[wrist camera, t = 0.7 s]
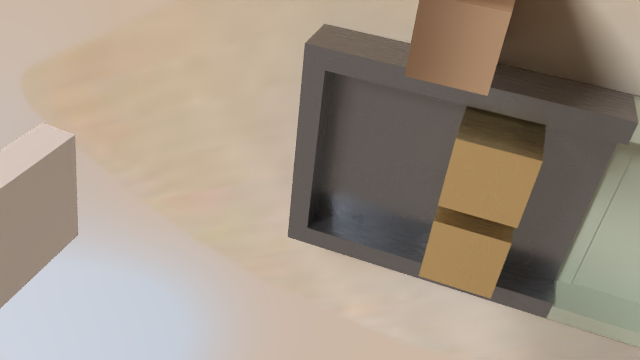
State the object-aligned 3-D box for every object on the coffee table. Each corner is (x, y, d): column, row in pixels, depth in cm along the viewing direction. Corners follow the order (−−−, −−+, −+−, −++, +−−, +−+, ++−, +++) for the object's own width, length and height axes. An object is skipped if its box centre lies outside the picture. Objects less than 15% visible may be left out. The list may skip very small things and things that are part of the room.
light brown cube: (546, 121, 31) (542, 161, 27) (523, 185, 33) (517, 228, 30) (467, 102, 31) (455, 138, 28) (450, 165, 34) (437, 205, 31)
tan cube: (517, 199, 33) (511, 243, 30) (498, 252, 36) (490, 298, 33) (446, 180, 34) (433, 220, 31) (432, 233, 37) (418, 276, 34)
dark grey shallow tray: (633, 94, 29) (638, 122, 27) (548, 283, 37) (546, 318, 35) (324, 24, 33) (304, 43, 31) (304, 210, 40) (287, 236, 38)
